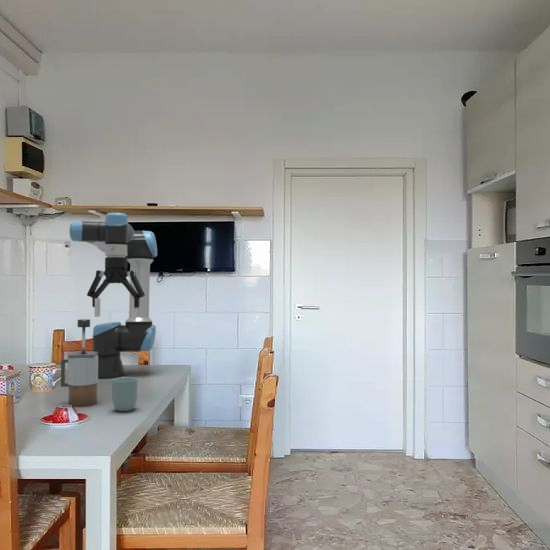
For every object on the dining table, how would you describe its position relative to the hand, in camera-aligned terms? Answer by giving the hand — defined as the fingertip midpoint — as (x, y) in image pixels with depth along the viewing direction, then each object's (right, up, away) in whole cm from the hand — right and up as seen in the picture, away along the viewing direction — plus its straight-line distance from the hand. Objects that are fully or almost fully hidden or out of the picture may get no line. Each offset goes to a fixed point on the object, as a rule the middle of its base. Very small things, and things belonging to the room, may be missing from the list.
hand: (115, 317), depth 175 cm
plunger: (-9, -14, -7) cm, 18 cm away
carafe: (-10, -29, -7) cm, 31 cm away
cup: (+8, -29, -15) cm, 34 cm away
